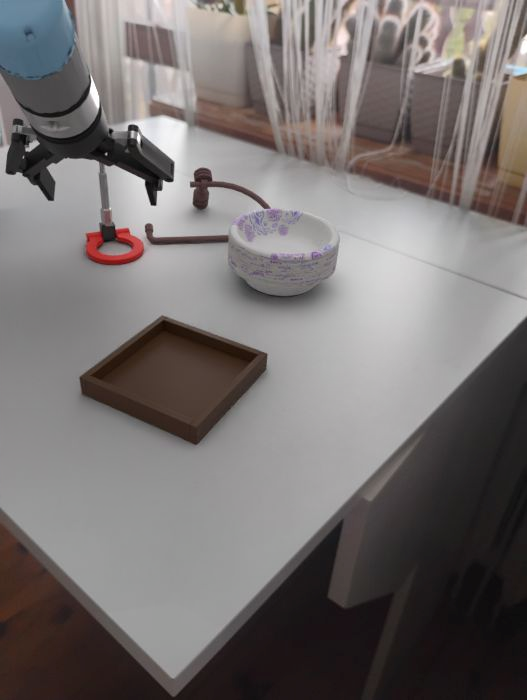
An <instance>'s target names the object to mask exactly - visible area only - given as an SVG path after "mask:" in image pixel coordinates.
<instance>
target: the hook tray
mask: <svg viewBox="0 0 527 700" xmlns="http://www.w3.org/2000/svg"><path fill="white" fill-rule="evenodd" d="M267 367H268V353H267V352H264V351H262V350H260V349H257V348H254V347H251V346H248V345H246V344H243V343H240V342H237V341H235V340H232V339H229V338H227V337H223V336H221V335H218V334H215V333H212V332H210V331H207V330H204V329H202V328H199V327H196V326H193V325H191V324H188V323H185V322H182V321H179V320H177V319H174V318H171V317H169V316H166V315H162V314H161V315H160V316H159V317H157V318H156V319H155V320H153V321H152V322H151V323H149V324H148V325H147V326H146V327H144V328H143V329H142V330H140V331H138V332H137V333H136V334H135V335H133V336H131V338H129V339H128V340H126V341H125V342H124V343H122V344H121V345H120V346H119V347H118V348H116V349H115V350H113V351H111V353H110V354H108V355H107V356H105V357H104V358H102V359H101V360H100V361H98V362H97V363H96V364H94V365H93V366H92V367H91V368H89V369H88V370H86V371H85V372H83V374H81V375H80V376H79V383H80V384H79V385H80V392H81V394H82V395H83V396H86V397H88V398H90V399H93V400H95V401H97V402H99V403H102V404H104V405H106V406H109V407H110V408H113V409H116V410H118V411H120V412H121V413H124V414H127V415H128V416H131V417H133V418H136V419H137V420H140V421H142V422H145V423H147V424H149V425H151V426H152V427H153V426H154V427H156V428H158V429H160V430H162V431H165V432H167V433H169V434H171V435H174V436H175V437H179V438H181V439H183V440H185V441H187V442H190V443H192V444H194V445H198V444H199V442H200V441H201V440H202V439H204V437H205V436H206V435H207V434H208V433H209V432H210V431H211V430H212V429H213V428H214V426H215V425H216V424H218V422H219V421H220V420H221V419H222V418H223V417H224V416H225V415H226V414H227V413H228V411H229V410H230V409H231V408H232V407H233V406H234V405H235V404H236V403H237V402H238V401H239V399H240V398H242V397H243V395H244V394H245V393H246V392H247V391H248V390H249V389H250V388H251V387H252V386H253V384H254V383H255V382H257V380H258V379H259V378H260V377H261V376H262V375H263V374H264V373H265V371H267Z"/></svg>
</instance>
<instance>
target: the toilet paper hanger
mask: <svg viewBox="0 0 527 700" xmlns="http://www.w3.org/2000/svg"><path fill="white" fill-rule="evenodd" d="M193 180H194V181H189V187H190V188H192V189H193V188H194V189H193V192H192V206H193V207H194V208H195V209H197V210H205V209H206V208H207V207H208V206H209V199H210V191H209V188H222V189H228V190H233V191H235V192H238V193H241V194H243V195H245V196H247V197H249V198H250V199H252V200H253V201H255V202H256V203H257V204H258V205H259V206H260V207H261V208H262V209H272V207H271V206H270V205H269V203H268V202H266V200H264V199H263V198H262V197H261V196H260V195H258V194H257V193H255V192H254V191H252V190H250V189H248V188H246V187H244V186H241V185H239V184H236V183H231V182H228V181H220V180H218V181H217V180H213V173H212V170H211V169H209V168H207V167H198V168H197V169H196V170H194V172H193ZM144 233H145V235H146V239H147V240H148V241H149V242H150V243H151V244H154V245H159V244H161V245H162V244H163V245H165V244H187V243H191V244H192V243H217V242H228V240H229V237H228V234H220V235H219V234H217V235H190V236H188V235H187V236H159V237H156V236H154V234H153V233H154V225H153V224H152V223H150V222H147V223H146V224H145V225H144Z"/></svg>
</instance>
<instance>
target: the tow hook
mask: <svg viewBox="0 0 527 700" xmlns="http://www.w3.org/2000/svg"><path fill="white" fill-rule="evenodd" d="M98 167H99V172H98V183H99V184H98V185H99V192H100V204H101V205H100V206H101V207H100V209H99V211H100V220H101V222H99V223H98V224H99V225H98V226H99V231H93V232H86V233H85V241H86V242H87V243H86V245H85V253H86V255H87V257H88V258H89V259H90V260H92V261H95V262H97V263H100V264H104V265H122V264H129V263H131V262H134V261H135V260H137V259H139V258H140V257H141V256H142V255H143V253H144V251H145V249H144V248H145V247H144V243H143V241H142V240H141V239H140V238H139V237H137V236H135V235H132V234H131V230H130V228H129V227H123V228H116V224H115V223H114V221H113V213H112V208H111V207H110V204H111V203H110V193H109V192H110V191H109V183H108V171H106V165H104V164H102V163H100V162H98ZM114 240H117V241H118V242H119V243H120V242H121V243H126V244H128V245H130V246H131V247H132V249H131V250H130V251H128V252H125V253H122V254H106V253H102V252H100V251H99V250H98V248H99V247H100V246H101V245H103V244H104V242H107V241H114Z"/></svg>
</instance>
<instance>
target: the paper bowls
mask: <svg viewBox="0 0 527 700" xmlns="http://www.w3.org/2000/svg"><path fill="white" fill-rule="evenodd" d="M227 235H228V237H229V240H228V241H227V242H228V244H227V245H228V246H227V247H228V248H227V249H228V250H227V253H228V254H227V261H228V265H229V267H230V269H231V270H232V271H233V272H234V273H235V274H236V275H237V276H238V277H240V278H242V279H244V280H245V281H246V283H247V284H248V285H249V286H250V287H251V288H253V290H254V289H255V290H256V291H259V292H260V293H263V294H266V295H270V296H277V297H292V296H298V295H301V294H304V293H307V292H308V291H310V290H312V289H313V288H314V287H315V286H316V285H317V284H320V283H322V282H324V281H327V280H328V279H329V278H330V277H331V276H332V275H333V274H334V273H335V271H336V267H337V263H338V262H337V261H338V256H339V250H340V243H341V238H340V233H339V231H338V230H337V228H336V227H335V226H334V225H333V224H332V223H331V222H330V221H328V220H327V219H325V218H323V217H321V216H318V215H316V214H314V213H310V212H307V211H303V210H298V209H291V208H276V207H275V208H272V207H271V209H264V208H262V209H255V210H252V211H247V212H244V213H243V214H241V215H239V216H237V217H235V219H234V220H233V221H232V222H231V224H230V225H229V227H228V234H227Z"/></svg>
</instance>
